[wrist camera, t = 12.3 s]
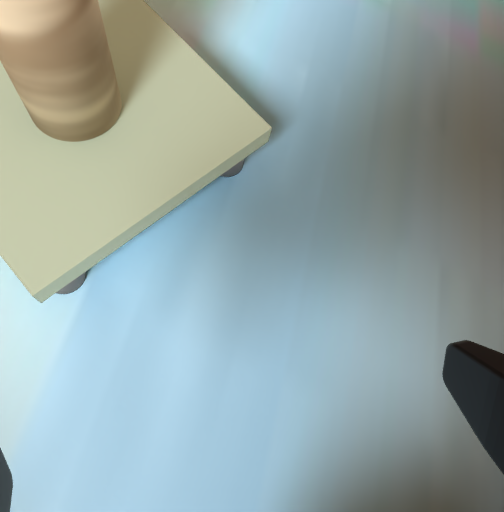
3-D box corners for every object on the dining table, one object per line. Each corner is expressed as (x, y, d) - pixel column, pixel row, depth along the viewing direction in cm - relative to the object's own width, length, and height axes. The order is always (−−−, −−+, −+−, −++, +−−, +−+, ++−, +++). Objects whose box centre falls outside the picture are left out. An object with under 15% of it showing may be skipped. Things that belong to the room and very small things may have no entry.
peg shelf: (57, 315, 22) (32, 296, 19) (-93, 127, 25) (-138, 79, 21) (261, 165, 27) (271, 127, 23) (118, 19, 29) (108, -35, 26)
